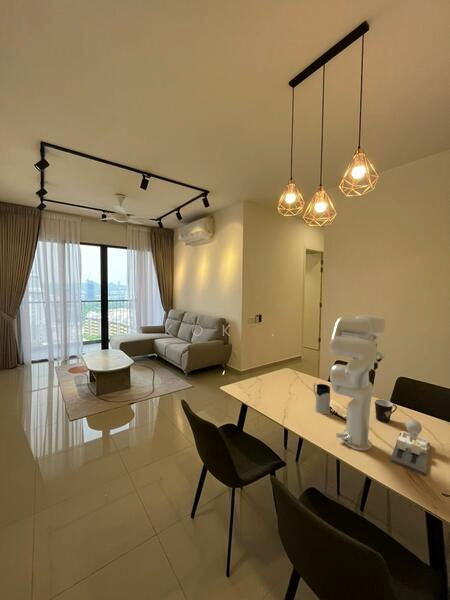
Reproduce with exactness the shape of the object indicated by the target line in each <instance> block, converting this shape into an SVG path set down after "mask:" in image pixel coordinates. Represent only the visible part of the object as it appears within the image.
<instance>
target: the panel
mask: <svg viewBox="0 0 450 600" xmlns="http://www.w3.org/2000/svg"><path fill="white" fill-rule="evenodd" d="M401 433H402V432H399V435H398V438H399V436H401ZM398 438H397V441H396V442H395V446H394V448H393V451H392V454H391V456H390V458H389V459H390V462H391V463H393V464H396V465H399V466H400V467H403V468H406V469H407V470H410V471H413V472H415V473H417V474H420V475H422V476H425V477H426V476H427V471H428V470H427V469H428V462H429V457H430V456H429V455H430V450H431V442H429V441H428V445H427V451H426V453H424V452H422V451H420V454H419V455H418V454H415V453H412V452H411V447H408V446H406V450H405V451H404V450H402V449H399V448H397V444H398Z"/></svg>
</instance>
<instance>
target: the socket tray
mask: <svg viewBox="0 0 450 600" xmlns="http://www.w3.org/2000/svg"><path fill="white" fill-rule="evenodd" d="M400 433H401V436H402V437H404V438H407V446H408V447H411V444H412V442H411V441H410V438H409V432H407V431H404V430H402V431H401V432H400ZM416 441H419V442H421V447H420V451H422V452H424V453H426V451H427V445H428V442H429V439H427V438H424V437H421V436H419V435H418V436H417V439H416Z"/></svg>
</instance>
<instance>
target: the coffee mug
mask: <svg viewBox="0 0 450 600" xmlns="http://www.w3.org/2000/svg"><path fill="white" fill-rule="evenodd" d="M393 406H395V408H394V410H393ZM374 407H375V408H374V409H375V410H374V411H375V418H376V420H377V421H379V422H381V423H383V424H389V423H390V420H391V416H392V414H393V413H395V412H396V410H397V408H398V407H397V405H396V404H394V403H392V402H391V401H389V400H386V399H382V398H381V399H380V398H376V399H374Z"/></svg>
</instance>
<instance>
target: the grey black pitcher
mask: <svg viewBox="0 0 450 600" xmlns="http://www.w3.org/2000/svg"><path fill="white" fill-rule="evenodd" d="M313 393H314V397H315V407H314V411H315V412H316V413H318V414H321V415H329V414H331V410H330V409H331V407H330V406H331V386H329V385H327V384H324V383H317V382H315V383H313Z"/></svg>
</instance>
